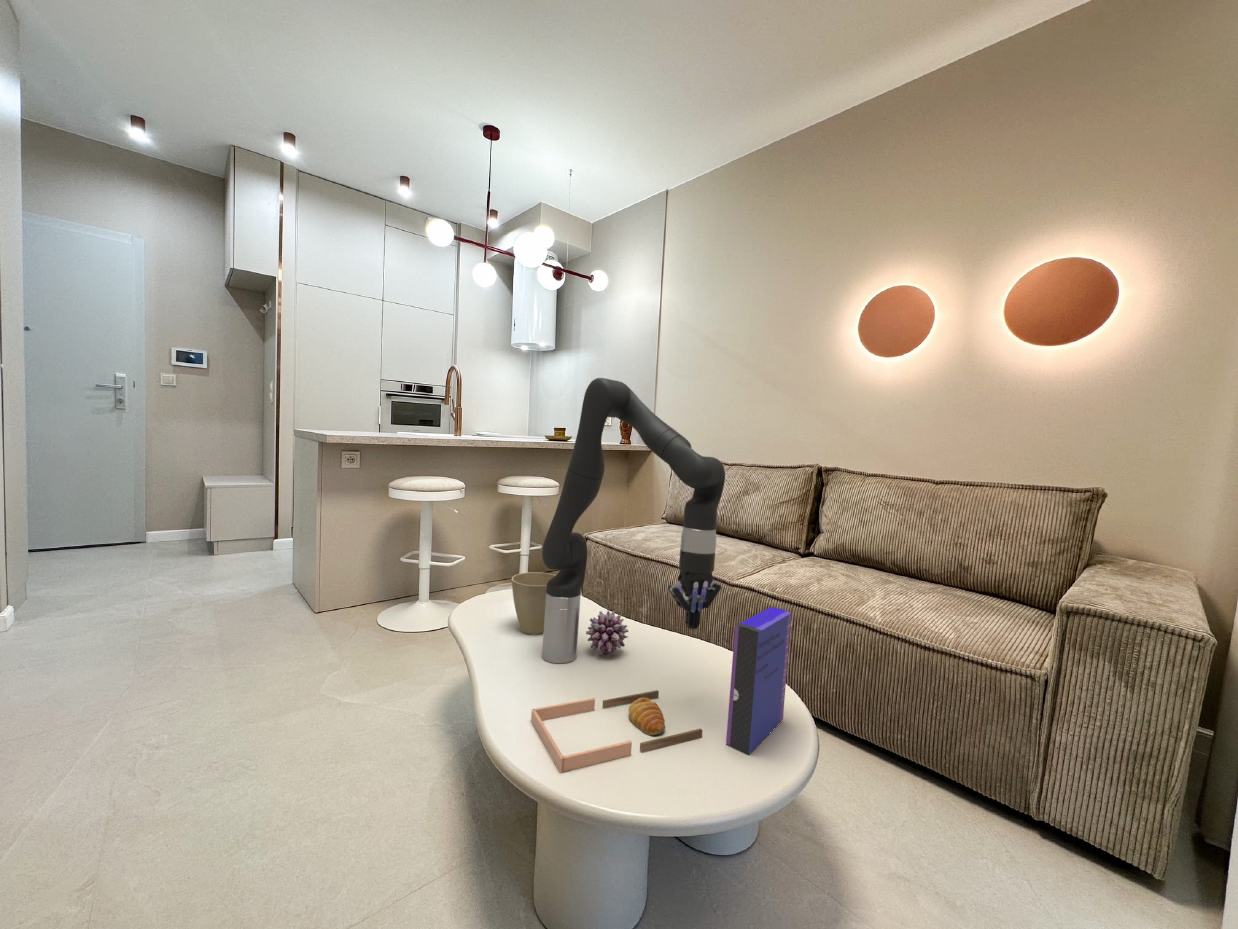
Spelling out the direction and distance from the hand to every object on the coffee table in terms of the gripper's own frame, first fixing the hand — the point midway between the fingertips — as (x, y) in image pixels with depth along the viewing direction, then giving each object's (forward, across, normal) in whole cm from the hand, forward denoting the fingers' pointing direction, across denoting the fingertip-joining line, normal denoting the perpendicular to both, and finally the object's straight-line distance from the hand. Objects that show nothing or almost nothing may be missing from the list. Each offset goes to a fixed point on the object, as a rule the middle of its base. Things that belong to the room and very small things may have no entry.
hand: (691, 627), depth 106 cm
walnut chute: (+19, +9, 0) cm, 21 cm away
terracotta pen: (+19, +25, 0) cm, 31 cm away
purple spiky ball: (+19, +3, -34) cm, 39 cm away
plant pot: (+19, +17, -56) cm, 62 cm away
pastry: (+20, +10, 0) cm, 22 cm away
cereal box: (+19, -10, +11) cm, 24 cm away
